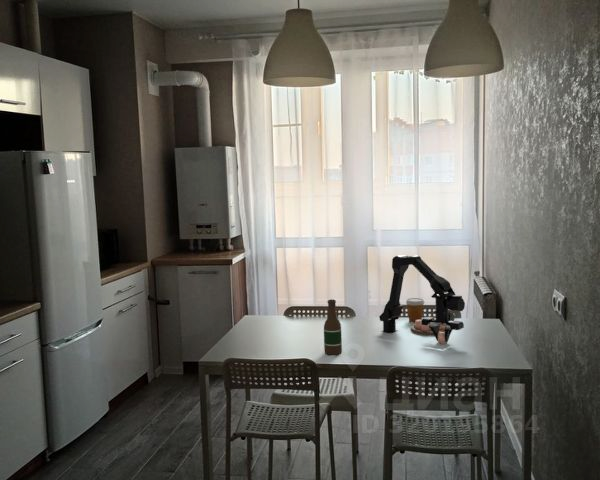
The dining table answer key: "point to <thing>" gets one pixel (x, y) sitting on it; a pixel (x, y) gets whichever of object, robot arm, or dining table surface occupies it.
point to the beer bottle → (332, 331)
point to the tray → (424, 331)
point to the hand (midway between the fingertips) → (442, 341)
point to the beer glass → (415, 309)
